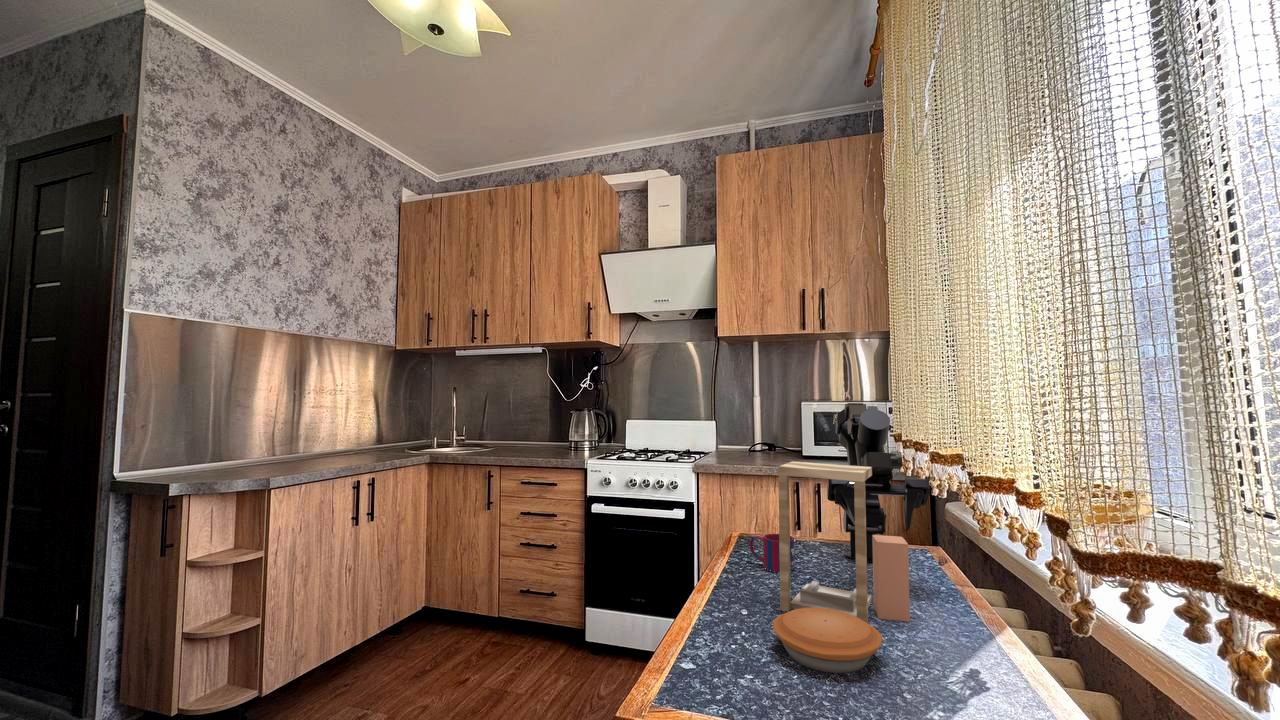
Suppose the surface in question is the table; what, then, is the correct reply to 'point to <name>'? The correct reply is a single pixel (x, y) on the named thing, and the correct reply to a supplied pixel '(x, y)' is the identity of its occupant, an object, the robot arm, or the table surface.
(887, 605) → the block
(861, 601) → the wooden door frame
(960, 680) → the table surface
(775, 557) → the mug
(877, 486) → the robot arm
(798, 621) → the pie
